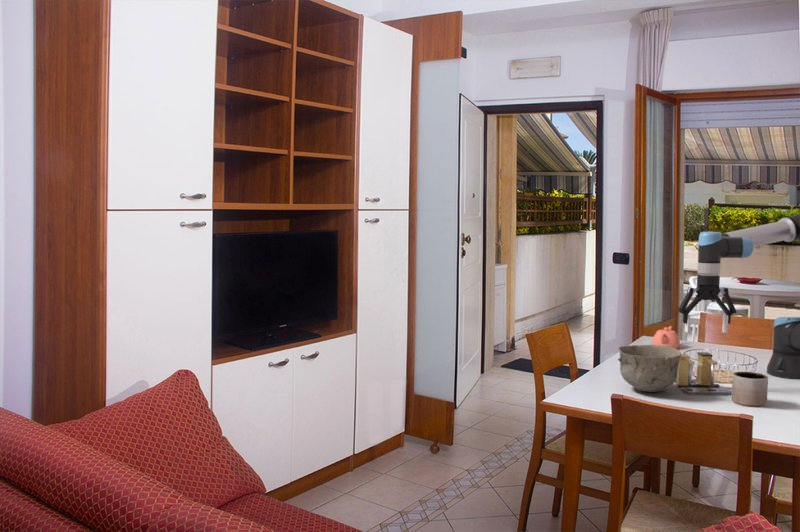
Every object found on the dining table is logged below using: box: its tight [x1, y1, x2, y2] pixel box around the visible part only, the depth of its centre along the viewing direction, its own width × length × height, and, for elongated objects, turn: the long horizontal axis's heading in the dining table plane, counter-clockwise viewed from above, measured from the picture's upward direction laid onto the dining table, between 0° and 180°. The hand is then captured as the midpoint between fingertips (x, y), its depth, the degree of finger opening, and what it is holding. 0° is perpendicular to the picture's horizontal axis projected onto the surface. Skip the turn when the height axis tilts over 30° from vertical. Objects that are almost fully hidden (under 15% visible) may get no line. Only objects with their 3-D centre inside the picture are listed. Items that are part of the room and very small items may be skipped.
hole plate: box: [681, 387, 732, 396], centre depth 255 cm, size 16×6×1 cm, turn 89°
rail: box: [675, 382, 721, 389], centre depth 263 cm, size 15×2×1 cm, turn 89°
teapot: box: [651, 325, 681, 350], centre depth 336 cm, size 12×18×10 cm
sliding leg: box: [695, 351, 718, 387], centre depth 259 cm, size 4×12×11 cm, turn 179°
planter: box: [730, 371, 769, 408], centre depth 243 cm, size 11×11×10 cm
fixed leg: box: [674, 353, 695, 387], centre depth 259 cm, size 4×12×11 cm, turn 179°
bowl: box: [617, 344, 683, 393], centre depth 257 cm, size 22×22×15 cm
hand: (706, 332), depth 261 cm, fingers open, 13 cm apart
